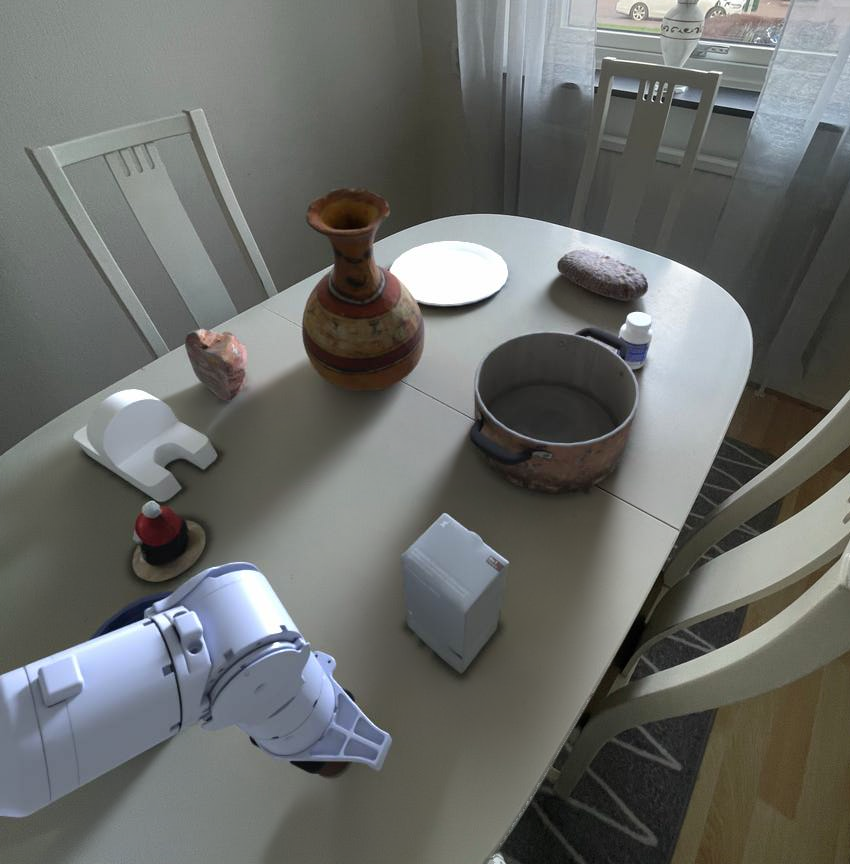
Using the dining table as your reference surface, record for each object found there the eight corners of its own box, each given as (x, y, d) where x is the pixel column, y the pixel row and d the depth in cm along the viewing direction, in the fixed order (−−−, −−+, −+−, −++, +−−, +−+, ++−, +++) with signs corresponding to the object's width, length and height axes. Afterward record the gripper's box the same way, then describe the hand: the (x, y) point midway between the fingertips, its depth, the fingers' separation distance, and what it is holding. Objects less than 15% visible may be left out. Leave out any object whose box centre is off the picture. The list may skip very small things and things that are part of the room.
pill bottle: (647, 370, 88) (659, 329, 82) (616, 370, 88) (626, 329, 82) (640, 350, 92) (652, 309, 86) (611, 350, 92) (620, 309, 86)
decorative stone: (660, 284, 107) (666, 262, 103) (630, 317, 99) (636, 295, 95) (577, 255, 115) (580, 234, 112) (543, 283, 107) (545, 262, 104)
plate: (455, 234, 122) (454, 229, 121) (532, 277, 109) (532, 271, 108) (365, 273, 110) (365, 268, 109) (440, 326, 97) (440, 321, 96)
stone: (192, 376, 87) (167, 329, 80) (237, 351, 92) (217, 305, 85) (233, 411, 81) (209, 364, 74) (278, 383, 86) (261, 336, 79)
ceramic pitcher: (326, 417, 80) (271, 243, 60) (302, 342, 94) (251, 178, 73) (444, 381, 86) (431, 211, 65) (406, 315, 99) (385, 156, 78)
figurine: (103, 515, 64) (157, 466, 60) (181, 537, 70) (236, 494, 66) (81, 579, 58) (140, 529, 54) (169, 597, 64) (227, 553, 60)
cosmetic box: (406, 627, 58) (388, 559, 47) (449, 579, 62) (442, 506, 51) (464, 680, 54) (459, 619, 43) (505, 625, 58) (511, 557, 47)
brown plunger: (341, 787, 46) (318, 765, 40) (303, 767, 47) (274, 743, 41) (364, 737, 49) (345, 709, 42) (327, 720, 50) (304, 690, 43)
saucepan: (545, 352, 91) (550, 302, 84) (661, 412, 81) (680, 360, 74) (426, 456, 75) (420, 405, 68) (553, 547, 65) (563, 498, 57)
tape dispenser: (162, 504, 69) (124, 454, 62) (83, 451, 76) (39, 400, 68) (220, 455, 75) (191, 404, 68) (142, 410, 82) (108, 358, 74)
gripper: (402, 670, 36) (418, 722, 45) (231, 597, 39) (279, 659, 49) (349, 790, 31) (379, 820, 41) (161, 695, 35) (229, 742, 44)
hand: (322, 738), depth 44 cm, fingers closed on brown plunger
